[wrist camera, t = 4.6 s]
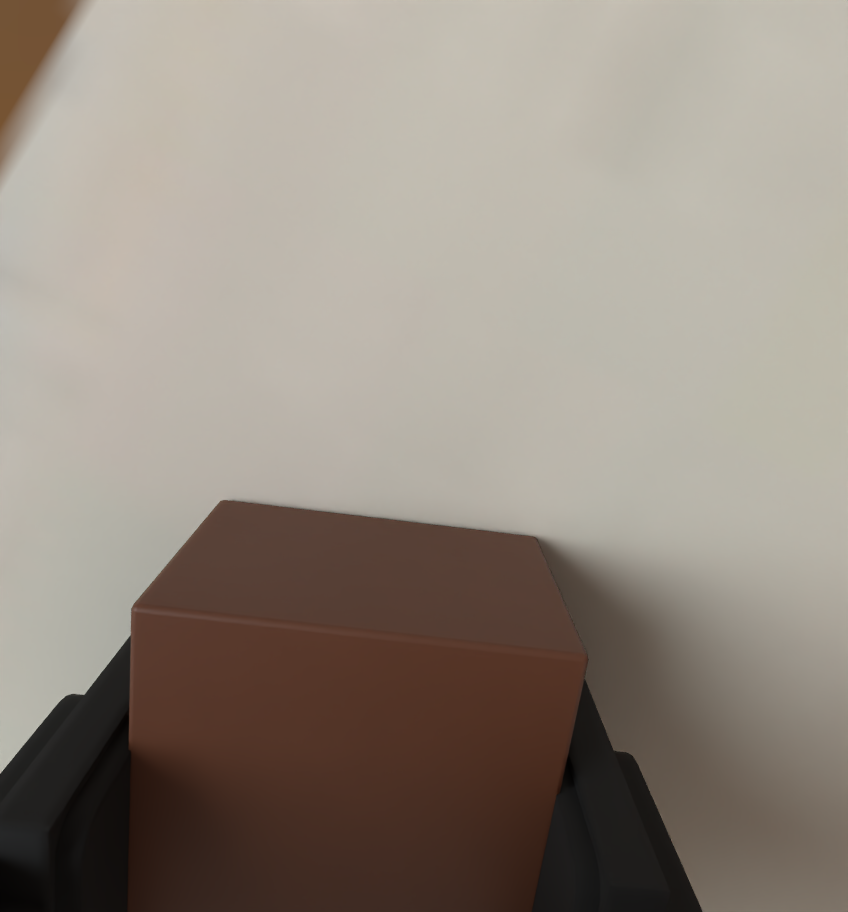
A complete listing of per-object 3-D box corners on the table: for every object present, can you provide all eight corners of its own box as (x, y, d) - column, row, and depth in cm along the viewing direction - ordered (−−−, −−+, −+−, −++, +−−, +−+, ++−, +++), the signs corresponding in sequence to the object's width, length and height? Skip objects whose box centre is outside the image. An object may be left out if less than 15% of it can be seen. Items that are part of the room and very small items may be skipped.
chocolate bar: (220, 497, 9) (128, 606, 6) (537, 535, 9) (591, 656, 6) (199, 867, 11) (118, 1091, 8) (471, 894, 11) (490, 1123, 8)
